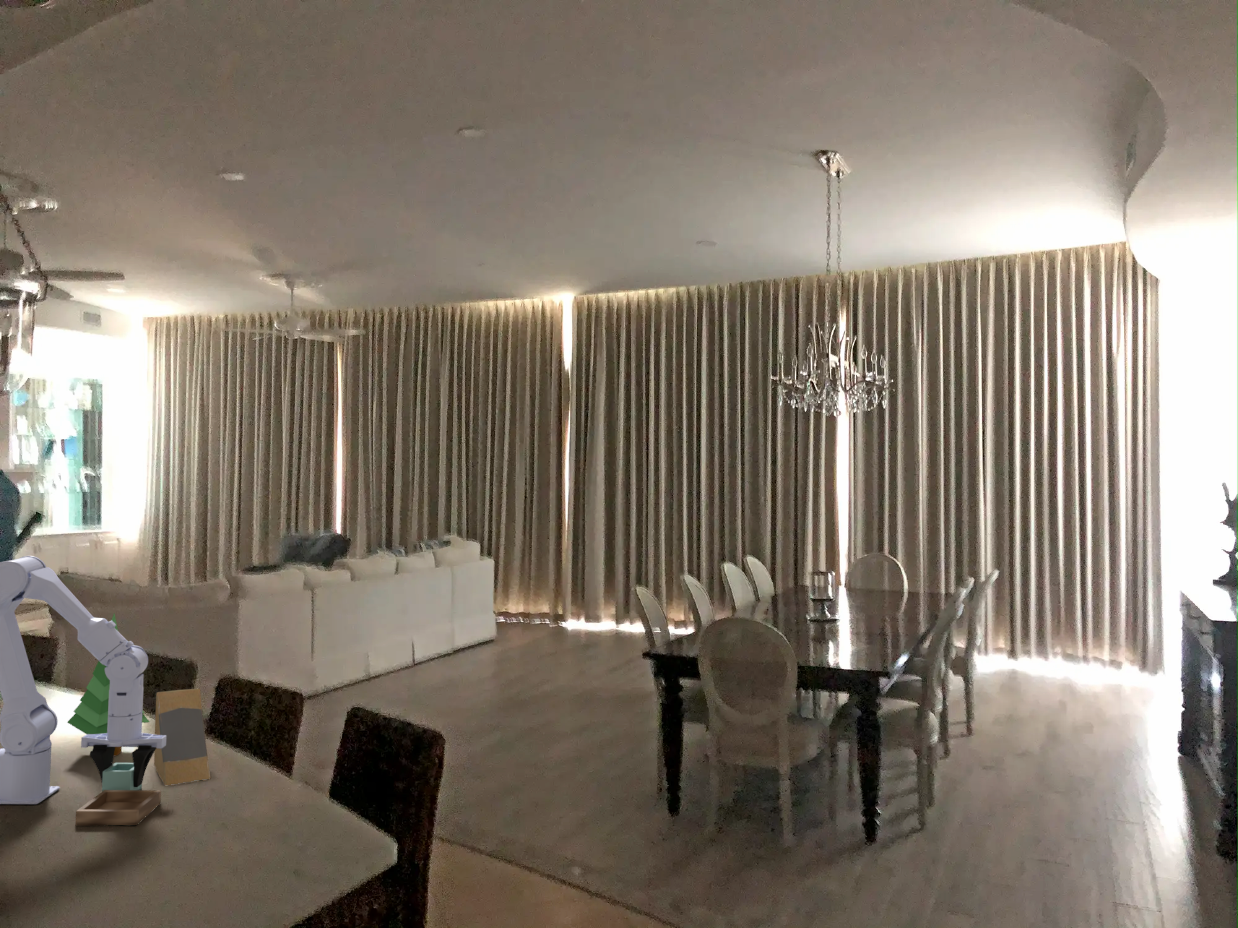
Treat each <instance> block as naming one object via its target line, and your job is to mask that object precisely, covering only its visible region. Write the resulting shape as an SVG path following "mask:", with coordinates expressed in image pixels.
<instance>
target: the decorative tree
mask: <svg viewBox="0 0 1238 928" xmlns="http://www.w3.org/2000/svg"><path fill="white" fill-rule="evenodd" d="M110 621H113V622H114V623H115V624H116V626H115V627H114V628H115V629H116V630H117V631H118V632H119V629H118V623H117V619H116V614H115V612H114V613H113V615H112V618H111V620H110ZM97 661H98V660H97ZM106 667H107V666H105V665H103V664H102V663H100V662H99V661H98V662H97V664H96V666H95V668H94V670H93V672H92V676H91V677H92V678H91V679H90V681H88V684H87V686H86V687H85V688H86V689H87V690H86V691H85V692H84V693H83V695H82V697H81V698H80V699H79V701H80V703H79V704H78V706H77V707H76V708H75V709H74V710H73V713H74V714H73V716H71V718H69V720H67V722H66V723H67V724H68V725H69V724H70V725H71V726H72V727H74V728H75V729H77V730H78V731H80V732H82V733H83V734H84V735H87V734H104V733H107V727H108V705H109V690H110V680H109V679H108V678H107V676H106V674H105V668H106ZM143 723H144V724H146V723H150V720H149V719H148V718H147V717H146V715H145V711H144V710H143V712H142V724H143ZM122 748H123V747H115V751H114V756H113V757H115V756H118V755H120V754H121V753H122Z"/></svg>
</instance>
